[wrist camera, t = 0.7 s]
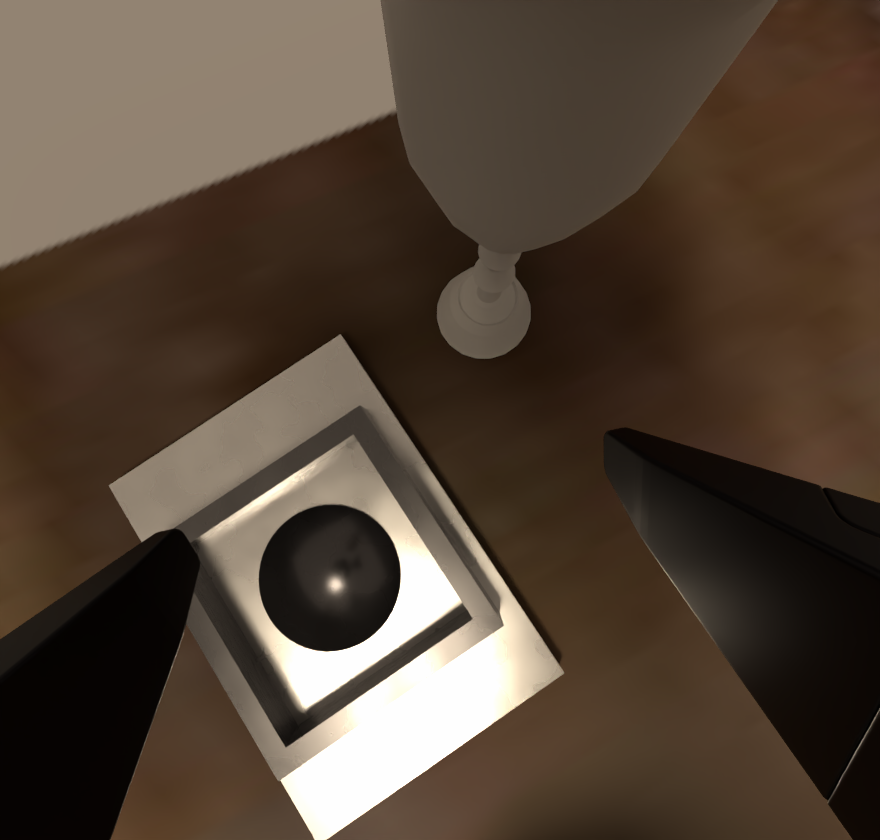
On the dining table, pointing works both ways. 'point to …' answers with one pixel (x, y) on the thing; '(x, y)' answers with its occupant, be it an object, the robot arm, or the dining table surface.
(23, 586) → the dining table surface
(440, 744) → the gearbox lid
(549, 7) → the chalice
